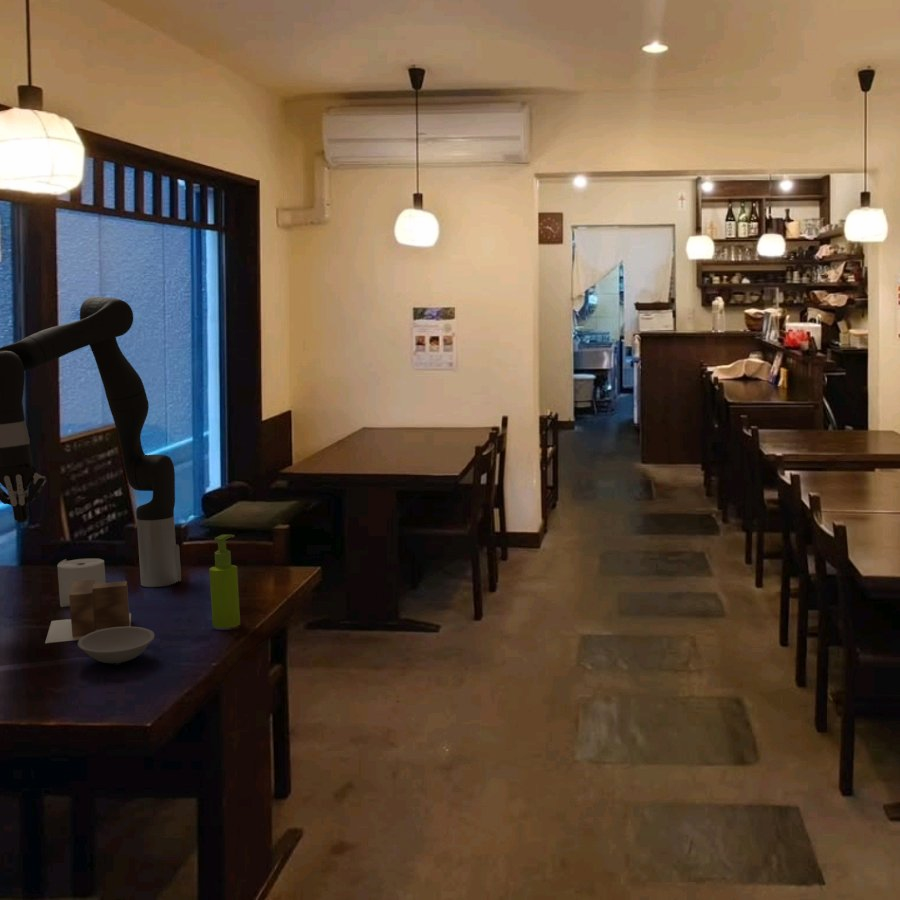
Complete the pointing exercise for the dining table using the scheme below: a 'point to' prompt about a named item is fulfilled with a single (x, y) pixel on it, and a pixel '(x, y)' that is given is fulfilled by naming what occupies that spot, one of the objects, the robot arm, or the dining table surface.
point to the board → (63, 631)
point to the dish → (116, 643)
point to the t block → (98, 606)
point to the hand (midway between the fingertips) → (22, 521)
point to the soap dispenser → (224, 587)
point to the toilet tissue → (78, 575)
